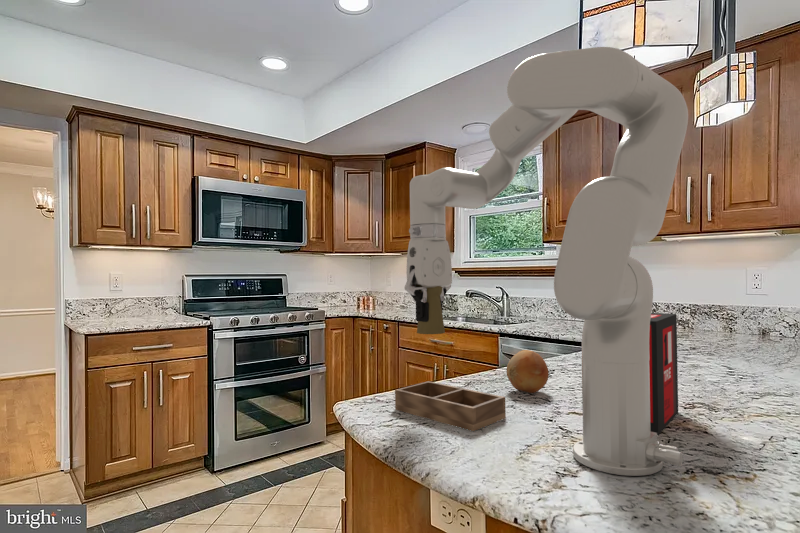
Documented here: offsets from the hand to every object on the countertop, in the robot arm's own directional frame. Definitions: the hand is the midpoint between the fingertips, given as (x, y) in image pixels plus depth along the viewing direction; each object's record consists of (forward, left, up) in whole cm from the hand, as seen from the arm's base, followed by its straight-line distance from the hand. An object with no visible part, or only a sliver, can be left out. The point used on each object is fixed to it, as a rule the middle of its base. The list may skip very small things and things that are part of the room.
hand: (429, 319), depth 102 cm
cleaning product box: (-35, -23, -19) cm, 46 cm away
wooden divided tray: (-5, 0, -19) cm, 20 cm away
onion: (-8, -26, -19) cm, 33 cm away
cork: (0, 0, -3) cm, 3 cm away
